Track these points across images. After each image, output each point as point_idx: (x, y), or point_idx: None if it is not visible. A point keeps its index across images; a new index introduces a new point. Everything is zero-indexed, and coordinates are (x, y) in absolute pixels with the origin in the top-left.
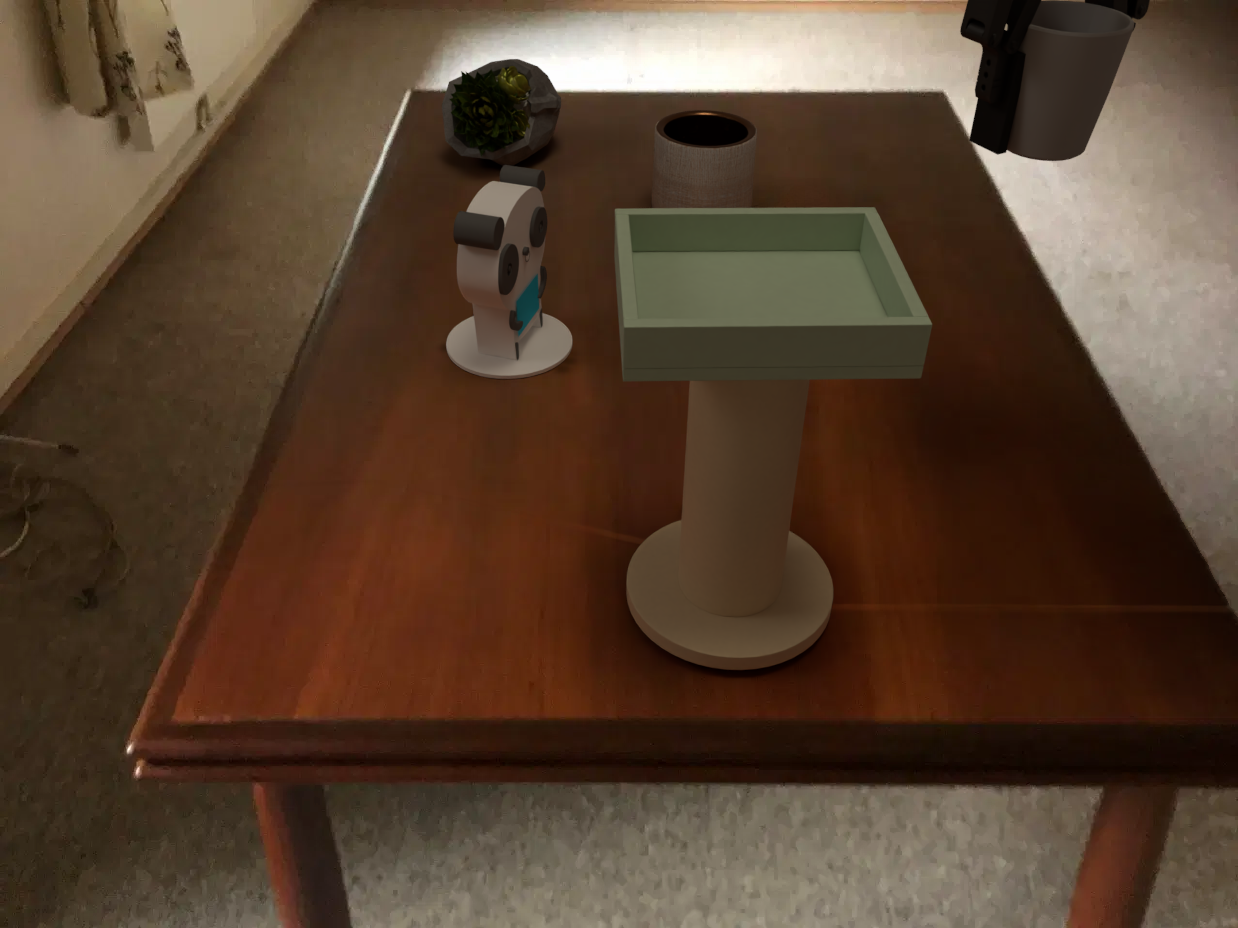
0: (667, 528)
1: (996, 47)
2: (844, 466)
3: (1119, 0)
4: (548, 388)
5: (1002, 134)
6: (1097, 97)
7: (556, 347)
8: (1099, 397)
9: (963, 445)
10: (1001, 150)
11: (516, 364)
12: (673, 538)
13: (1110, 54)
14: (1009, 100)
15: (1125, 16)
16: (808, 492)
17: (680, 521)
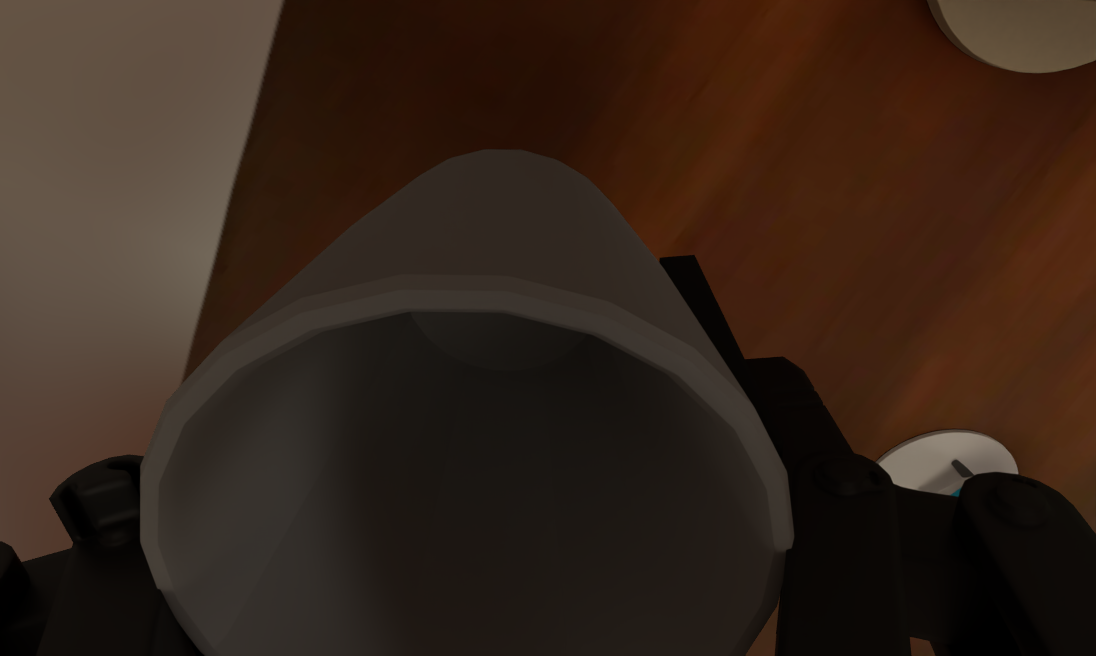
0: (1068, 62)
1: (905, 496)
2: (732, 106)
3: (105, 628)
4: (954, 401)
5: (703, 283)
6: (457, 184)
7: (897, 466)
8: (261, 97)
9: (541, 78)
10: (685, 259)
11: (962, 452)
12: (1079, 38)
13: (440, 238)
14: (733, 338)
15: (162, 490)
16: (817, 74)
17: (1043, 69)
